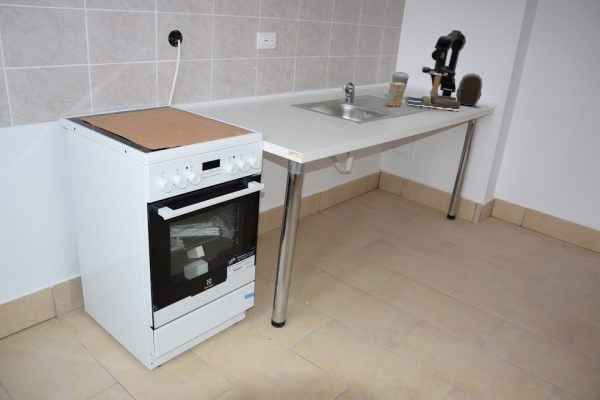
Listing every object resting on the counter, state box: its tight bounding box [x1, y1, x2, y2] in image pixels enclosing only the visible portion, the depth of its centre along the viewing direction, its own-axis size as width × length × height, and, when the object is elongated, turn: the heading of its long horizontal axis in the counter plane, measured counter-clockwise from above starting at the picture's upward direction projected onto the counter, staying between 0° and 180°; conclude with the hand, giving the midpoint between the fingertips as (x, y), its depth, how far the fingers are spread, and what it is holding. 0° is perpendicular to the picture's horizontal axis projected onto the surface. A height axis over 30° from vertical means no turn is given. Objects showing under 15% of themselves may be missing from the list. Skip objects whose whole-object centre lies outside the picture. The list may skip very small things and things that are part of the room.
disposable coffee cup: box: [391, 71, 410, 92], centre depth 310 cm, size 11×11×15 cm
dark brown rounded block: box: [455, 72, 483, 107], centre depth 308 cm, size 15×8×20 cm, turn 76°
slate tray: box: [404, 96, 434, 106], centre depth 298 cm, size 14×16×2 cm
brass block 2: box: [422, 97, 431, 104], centre depth 294 cm, size 4×4×4 cm
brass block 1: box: [420, 95, 430, 103], centre depth 300 cm, size 4×4×4 cm
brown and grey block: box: [429, 73, 441, 97], centre depth 293 cm, size 10×3×12 cm, turn 174°
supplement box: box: [386, 82, 406, 108], centre depth 285 cm, size 8×5×13 cm, turn 129°
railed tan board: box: [429, 94, 461, 110], centre depth 297 cm, size 15×15×6 cm
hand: (435, 86), depth 293 cm, fingers closed on brown and grey block, 3 cm apart
